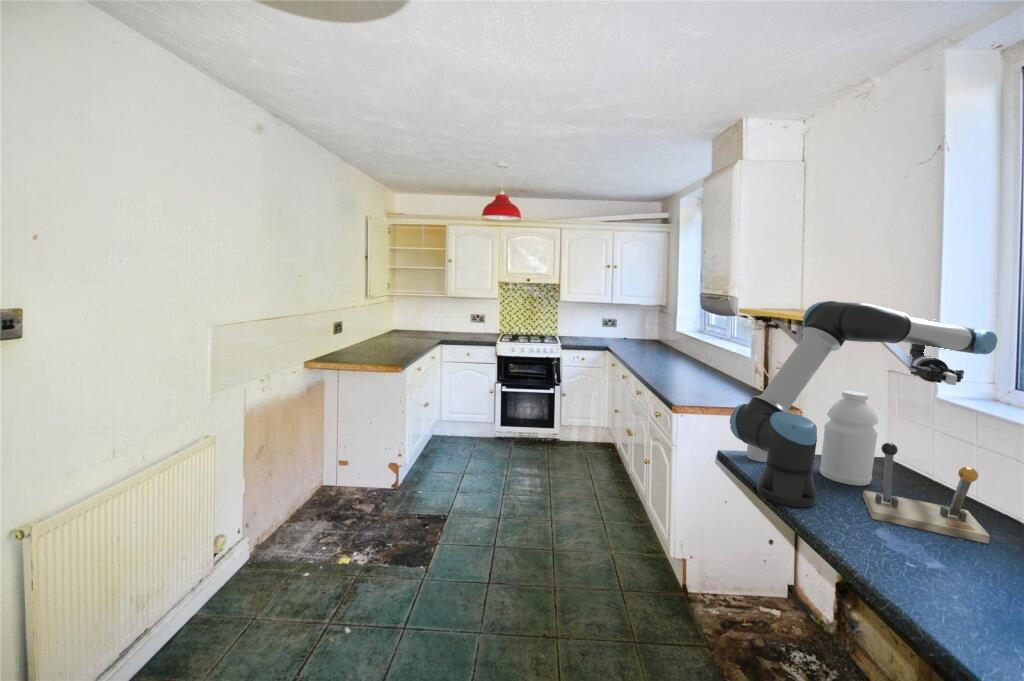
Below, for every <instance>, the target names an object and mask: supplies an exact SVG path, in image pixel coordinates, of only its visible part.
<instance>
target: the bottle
mask: <svg viewBox="0 0 1024 681" xmlns="http://www.w3.org/2000/svg"><path fill="white" fill-rule="evenodd" d="M841 397H842V398H840V399H839V400H838V401H836V402H835V403H834V404H832V406H831V407H830V409H829V410H828V412H827V413H826V415H827V416H828V417H829V419H830V420H829V421H828V422H826V423H825V425H824V429H823V430H824V431H823V439H822V440H823V442H822V447H821V448H822V449H821V457H820V466H819V473H820V475H822V476H823V477H824V478H826V479H828V480H830V481H831V480H832V481H834V482H837V483H840V484H845V485H850V486H868V485H870V484H871V482H872V480H873V475H872V474H873V468H874V460H875V453H876V446H877V439H878V434H879V433H878V431H877V430H876V429H875V427H874V426H875V425H877V424H878V422H879V420H878V416H877V413H876V412H875V410H874V408H873V407H872V406H871V405H870V404H869V403H868V402H867V401H868V399H869V395H868V394H867V393H865V392H861V391H854V390H843V391H842V394H841Z"/></svg>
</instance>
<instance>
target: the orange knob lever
mask: <svg viewBox="0 0 1024 681" xmlns="http://www.w3.org/2000/svg"><path fill="white" fill-rule="evenodd" d="M957 474H958V477H959V481H958V484H957V486H956V490H955V491H954V494H953V496H952V499H951V502H950V505H949V506H948V507H949V514H950V515H954V516H958V514H959V512H960V509H962V507H963V504H964V501H965V498H966V496H967V494H968V492H969V489H970V488H971V487H970V486H971V485H972V483H973V482H976V481H977V480H978V478H979V474H978V472H977V470H975V468H973V467H969V466H963V467H961V468H959V469H958V472H957Z"/></svg>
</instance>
